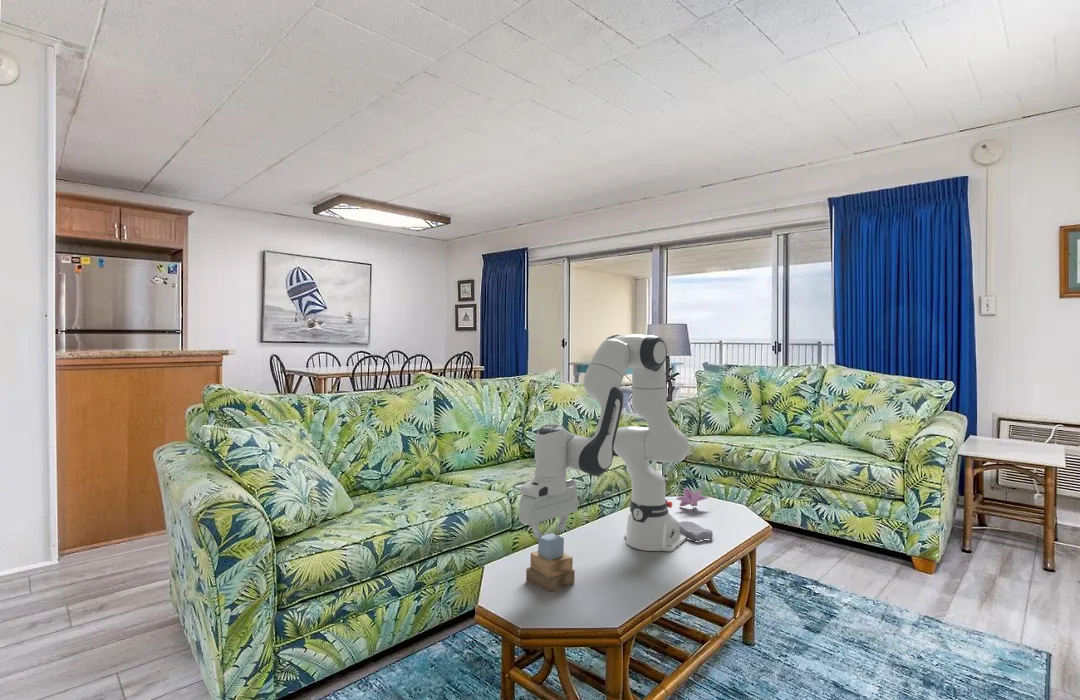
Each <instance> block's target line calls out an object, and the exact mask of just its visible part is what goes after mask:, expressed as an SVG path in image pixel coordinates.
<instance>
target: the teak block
mask: <svg viewBox="0 0 1080 700" xmlns="http://www.w3.org/2000/svg"><path fill="white" fill-rule="evenodd" d="M573 558H574V557H573V556H570V555H569V554H567V553H565V552H564V553H563V556H561V557H558V558H555V559H552V560H549V559H547V558H544V557H542V556H540V555H538V550H537V551H533V552H530V566H529V567H532V568H533V569H535V570H536V571H538V572H539V573H541V574H543V575H544V576H546V577H547V578H551V577H555V576H559V575H563V574H566V573H570V572H572V569H573V562H574V561H573Z"/></svg>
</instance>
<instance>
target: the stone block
mask: <svg viewBox="0 0 1080 700" xmlns="http://www.w3.org/2000/svg"><path fill="white" fill-rule="evenodd" d="M678 522H679V527H680V533H681V534H683V535H685V536H686V537H687V538H689V539H691V540H693V541H700V540H704V539H711V540H712V539H713V537H714V536H713V535H714V534H713V530H710V529H709V528H705V527H703V526H701V525H699V524H697V523H695V522H693V521H689V520H688V521H687V520H683V521H678Z"/></svg>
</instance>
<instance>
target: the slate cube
mask: <svg viewBox="0 0 1080 700" xmlns="http://www.w3.org/2000/svg"><path fill="white" fill-rule="evenodd" d="M537 539H538V544H537V545H538V547H537V551H538V555H540V556H542V557H544V558H547V559H549V560H552V559H555V558H558V557H561V556H563V553H565V552H564V547H565V545H564V544H565V541H564V540H565V538H564V537H563V536H560V535H557V534H554V533H553V532H551V533H547V534H544V535H542V537H540V538H537Z"/></svg>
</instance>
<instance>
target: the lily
mask: <svg viewBox="0 0 1080 700" xmlns="http://www.w3.org/2000/svg"><path fill="white" fill-rule="evenodd" d="M702 492H703V489H700V490H696V491H695V492H694V491H693V490H692V489H690V488H688V487H684V489H683V496H682V495H681V496H679V497H676V498H675V500H678V501H679V502H680V503H679V506H683V507H686V506H688V505H690V506H691V507H692V509H693V511H695V508H694V507H693V506H697V507H698V502H699V501H703V500H708V497H707V496H706V495H702Z"/></svg>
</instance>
